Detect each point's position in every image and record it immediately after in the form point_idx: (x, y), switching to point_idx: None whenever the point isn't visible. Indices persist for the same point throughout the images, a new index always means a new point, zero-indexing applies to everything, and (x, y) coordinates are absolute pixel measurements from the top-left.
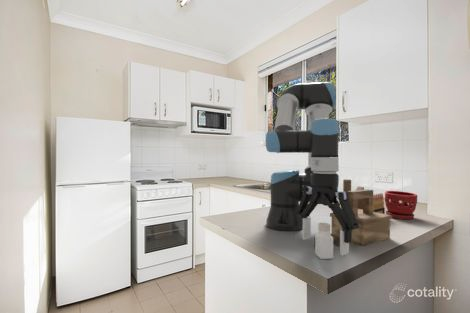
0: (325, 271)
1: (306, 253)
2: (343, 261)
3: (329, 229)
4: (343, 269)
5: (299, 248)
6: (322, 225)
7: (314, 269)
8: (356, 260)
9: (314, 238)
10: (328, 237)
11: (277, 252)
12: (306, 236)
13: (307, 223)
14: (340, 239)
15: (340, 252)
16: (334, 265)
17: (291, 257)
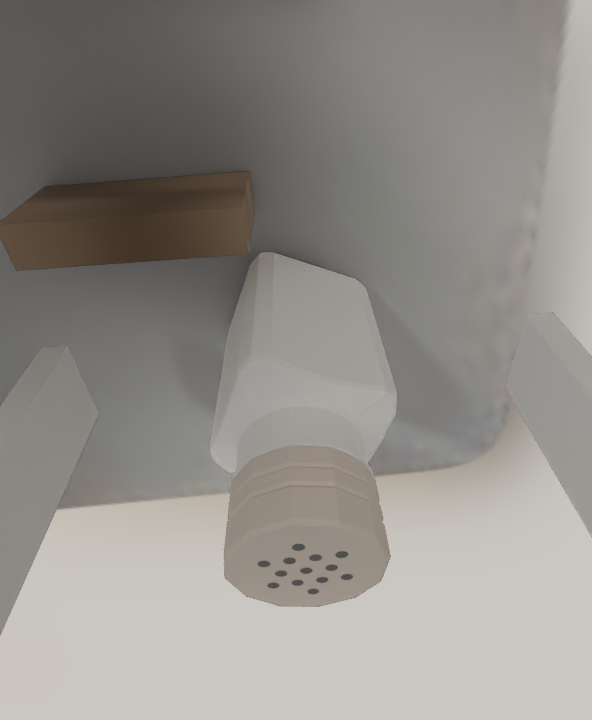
0: (450, 432)
1: (189, 373)
2: (437, 236)
3: (370, 491)
4: (508, 337)
5: (79, 359)
6: (339, 601)
7: (400, 459)
8: (503, 97)
9: (25, 264)
10: (376, 447)
11: (123, 493)
12: (79, 412)
13: (8, 528)
14: (573, 495)
15: (517, 399)
16: (436, 344)
17: (217, 471)
